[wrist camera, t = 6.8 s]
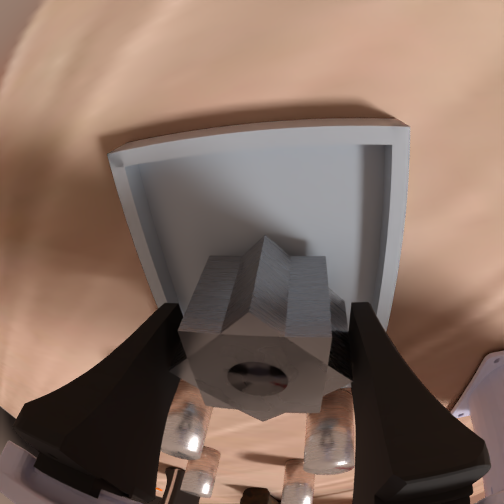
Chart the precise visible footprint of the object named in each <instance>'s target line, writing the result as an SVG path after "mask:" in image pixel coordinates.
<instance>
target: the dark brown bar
mask: <svg viewBox="0 0 504 504" xmlns="http://www.w3.org/2000/svg"><path fill="white" fill-rule="evenodd" d="M240 504H280V503H279V502H278V501H276V500H275V499H274V498H272V497H271V496H270V492H269V491H268V489H266V488H248V489H246V490H245V491H244V493H243V497H242V498H241V500H240Z"/></svg>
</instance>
